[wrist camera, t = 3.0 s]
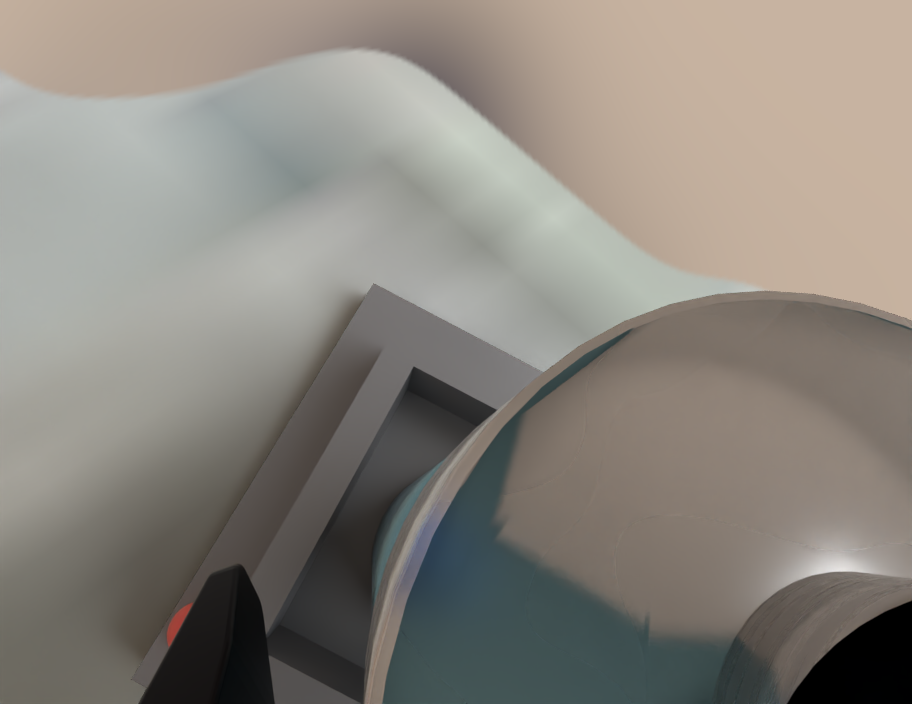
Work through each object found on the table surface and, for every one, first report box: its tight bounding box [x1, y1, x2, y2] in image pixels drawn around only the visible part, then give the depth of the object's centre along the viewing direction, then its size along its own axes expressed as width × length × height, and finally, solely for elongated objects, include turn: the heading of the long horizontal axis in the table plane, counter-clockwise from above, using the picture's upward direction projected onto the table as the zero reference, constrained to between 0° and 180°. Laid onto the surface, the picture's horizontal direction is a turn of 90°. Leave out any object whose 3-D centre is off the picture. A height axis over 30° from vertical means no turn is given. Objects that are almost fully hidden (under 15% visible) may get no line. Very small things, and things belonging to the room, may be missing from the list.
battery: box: [363, 291, 912, 704], centre depth 8 cm, size 4×4×13 cm
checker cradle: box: [131, 283, 544, 704], centre depth 13 cm, size 11×11×4 cm
